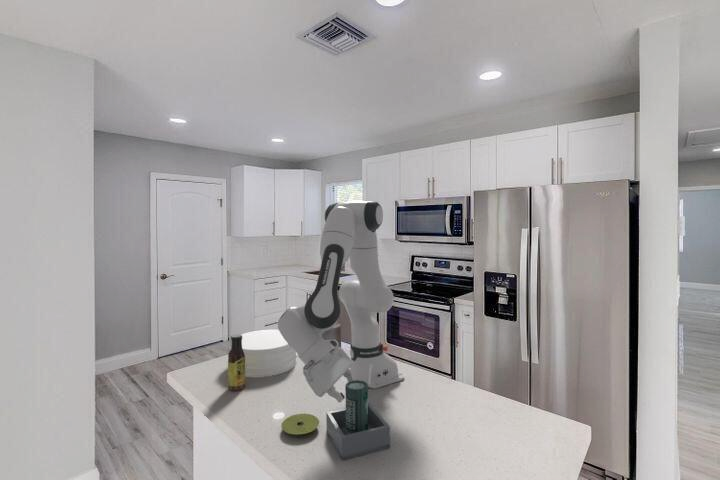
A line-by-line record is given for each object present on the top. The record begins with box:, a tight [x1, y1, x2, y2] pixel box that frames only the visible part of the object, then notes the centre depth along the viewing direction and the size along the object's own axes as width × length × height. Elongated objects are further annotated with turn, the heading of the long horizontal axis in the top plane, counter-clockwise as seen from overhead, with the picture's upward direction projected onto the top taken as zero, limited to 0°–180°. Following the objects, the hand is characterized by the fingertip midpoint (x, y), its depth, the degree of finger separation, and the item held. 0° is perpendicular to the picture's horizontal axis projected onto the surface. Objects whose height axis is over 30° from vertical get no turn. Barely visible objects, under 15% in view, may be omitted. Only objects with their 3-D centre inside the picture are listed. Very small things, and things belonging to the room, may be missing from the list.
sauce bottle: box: [227, 334, 246, 391], centre depth 135 cm, size 7×6×20 cm
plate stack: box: [230, 329, 298, 378], centre depth 158 cm, size 28×28×12 cm
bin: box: [325, 402, 391, 462], centre depth 102 cm, size 14×14×6 cm
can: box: [345, 380, 369, 435], centre depth 102 cm, size 6×6×15 cm
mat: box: [281, 413, 320, 435], centre depth 108 cm, size 11×11×2 cm
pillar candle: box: [321, 322, 342, 348], centre depth 171 cm, size 10×10×15 cm
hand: (348, 392), depth 103 cm, fingers open, 8 cm apart
